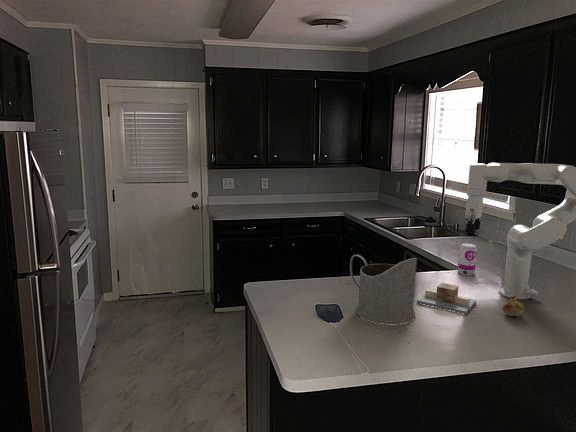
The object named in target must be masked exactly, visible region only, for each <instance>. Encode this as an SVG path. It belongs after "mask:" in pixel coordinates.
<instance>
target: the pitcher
mask: <svg viewBox="0 0 576 432" xmlns="http://www.w3.org/2000/svg"><path fill="white" fill-rule="evenodd" d="M355 257H358V258H360V260H362V261H363V262H364V266H362V267H361V268H360V271H359V284H358V283H357V281H356V278H355V277H354V274H353V260H354V258H355ZM417 261H418V259H417V258H416V257H412V258H408V259H405V260H402V261H400V262H398V263H397V264H391V263H371V264H368V262H367V261H366V259H365V258H364V257H363V256H362V255H361V254H353V255H352V256H351V258H350V263H349V273H350V277H351V279H352V282H353V283H354V285H355V286H356V287H357V289H358V304H357V306H356V308H355V311H356V312H357V314H358V315H359V316H360V317H362V318H364V319H366V320H369V321H373V322H377V323H384V324H400V323H406V322H409V321H412V320H413V319H414V318H415V319H416V316H415V315H416V313H415V309H414V302H415V301H414V299H415V288H416V277H417V276H416V275H417V263H418V262H417ZM356 312H355V313H356ZM357 314H356V315H357ZM358 315H357V316H358ZM359 316H358V317H359ZM360 317H359V318H360ZM366 320H365V321H366Z"/></svg>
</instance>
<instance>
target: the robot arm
mask: <svg viewBox="0 0 576 432" xmlns="http://www.w3.org/2000/svg"><path fill="white" fill-rule="evenodd" d="M468 171H469V172H468V180H467V181H468V182H467V191H466V195H467V196H468V197H467V202H466V207H465V215H464V217H465V219H466V226H465V227H466V228H465V233H466V234H467V233H469V234H474V233H475V230H477V231H478V230H480V229H481V219H482V218H481V217H482V214H483V208H484V207H483V206H484V198H485V197H486V195H487V185H488V182H496V183H501V182H504V181H514V182H519V183H523V184H532V185H533V184H536V185H539V184H541V185H560V186H563V187H565V189H566V191H565V197H564V200H563V201H562V202H561V203H560V204H559V205H557V206H555V207H553V208H552V209H550V210H547V211H546V212H544V213H541V214H539V215H538V216H536V217H535V218H534V219H533V221H532V227H529V226H527V225H525V224H516V225H513V226H512V227H511V228H510V229H509V231H508V233H507V237H506V238H507V239H506V240H507V254H506V263H505V271H504V280H503V287H501V288H499V290H498V293H499V294H500V295H501V296H504V297H506V298H509V299H510V297H511V296H516V299H517V300H527V299H530V298H531V295H532V296H535V297H538V295H539V291H537V289H531V288H530V285H528V284H529V278H530V270H531V269H530V268H531V262H532V253H533V252H536V251H538V250H541V249H543V248H545V247H546V246H548V245H551V244H553V243H555V242H557V241H559V240H561V239H562V237H563V236H564V235H565V234H566V233H567V225H569V224H570V223H572V222H574V221H575V220H576V167H575V165H569V164H562V163H561V164H559V163H532V162H531V163H530V162H529V163H528V162H527V163H513V162H509V163H508V162H490V163H488V164H485V163H471V164H470V165H469V169H468Z"/></svg>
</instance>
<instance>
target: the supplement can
mask: <svg viewBox="0 0 576 432" xmlns="http://www.w3.org/2000/svg"><path fill="white" fill-rule="evenodd" d="M477 254H478V248H477V245H476V244H472V243H469V242H466V243H461V244H460V246H459V251H458V263H457V273H458V274H459V275H461V276H466V277H471V276H474V275H475V274H476V266H477Z"/></svg>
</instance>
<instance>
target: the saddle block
mask: <svg viewBox="0 0 576 432" xmlns="http://www.w3.org/2000/svg"><path fill="white" fill-rule="evenodd" d="M436 291H437V294H436V300H437V301H441V302H446V303H450V304H453V303H454V296H455V295H456V296H459V285H455V284H450V283H445V282H441V283H440V284H438V285H437V286H436Z"/></svg>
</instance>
